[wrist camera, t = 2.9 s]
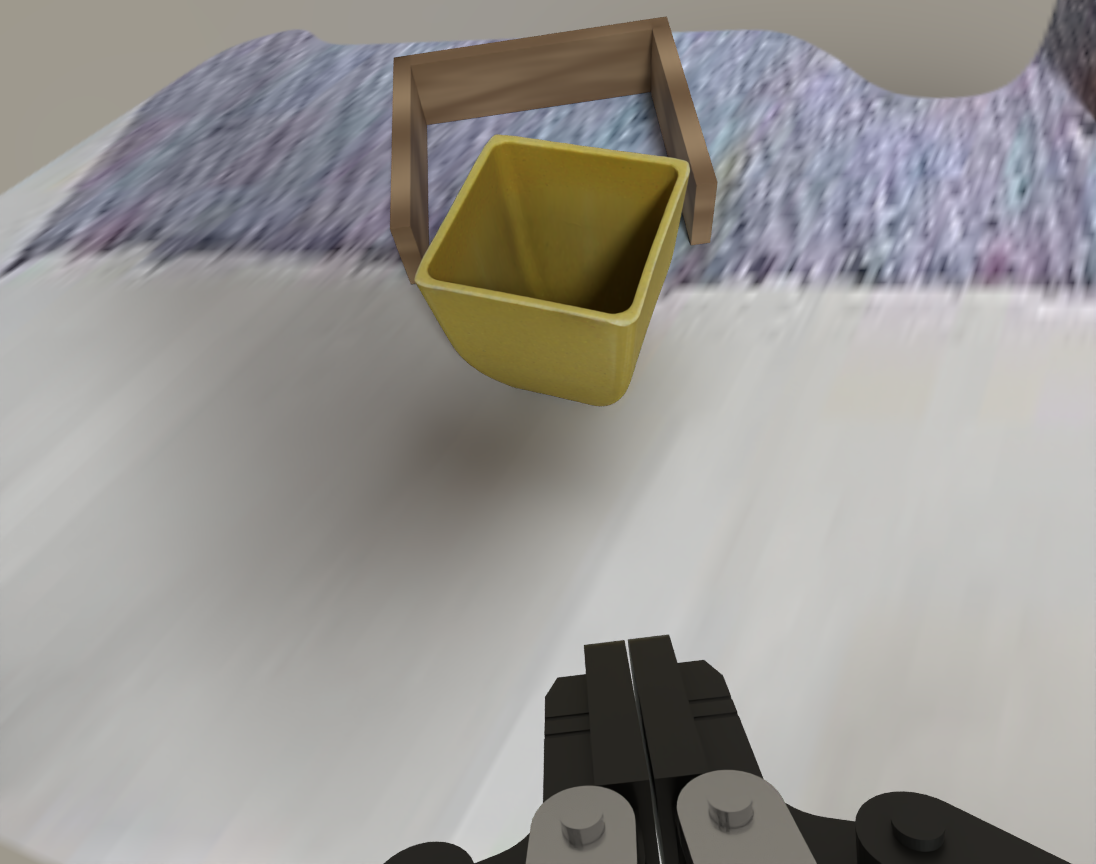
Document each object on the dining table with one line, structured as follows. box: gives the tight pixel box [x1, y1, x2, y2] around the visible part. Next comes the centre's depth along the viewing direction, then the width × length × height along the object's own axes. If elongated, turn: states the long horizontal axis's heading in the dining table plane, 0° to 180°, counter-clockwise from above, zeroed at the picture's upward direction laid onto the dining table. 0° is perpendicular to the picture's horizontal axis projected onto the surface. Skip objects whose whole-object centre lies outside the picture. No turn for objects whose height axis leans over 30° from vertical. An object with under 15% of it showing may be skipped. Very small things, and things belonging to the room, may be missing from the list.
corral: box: [390, 17, 717, 284], centre depth 41 cm, size 14×16×4 cm
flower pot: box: [414, 135, 690, 406], centre depth 33 cm, size 9×9×9 cm
